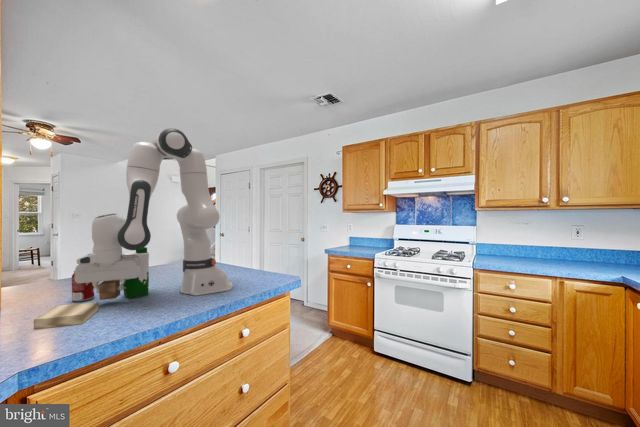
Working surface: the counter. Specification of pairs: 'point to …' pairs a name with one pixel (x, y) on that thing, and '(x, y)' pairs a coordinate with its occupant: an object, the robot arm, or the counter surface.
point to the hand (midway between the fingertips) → (110, 291)
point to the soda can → (81, 290)
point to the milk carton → (141, 283)
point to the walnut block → (109, 289)
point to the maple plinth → (66, 315)
